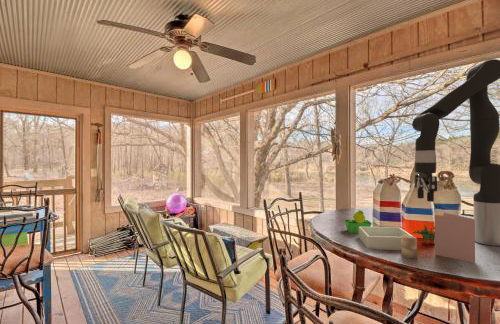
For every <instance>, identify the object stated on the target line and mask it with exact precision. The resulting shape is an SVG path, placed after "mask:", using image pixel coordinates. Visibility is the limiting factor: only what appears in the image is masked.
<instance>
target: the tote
mask: <svg viewBox="0 0 500 324" xmlns="http://www.w3.org/2000/svg"><path fill="white" fill-rule="evenodd" d="M403 235H409V236H413V235H412V234H410V233H409V232H407V231H406V230H405V229H403V228H401V226H397V227H396V226H395V227H393V226H371V227H359V233H358V238H359V239H360V241H361V242H362V243H363V244H364V246H365V247H366V248H367V250H387V251H391V250H392V251H401V236H403Z"/></svg>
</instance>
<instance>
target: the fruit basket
mask: <svg viewBox="0 0 500 324" xmlns="http://www.w3.org/2000/svg"><path fill="white" fill-rule="evenodd" d="M364 213H365V212H364V211H363V210H357V211H356V212H355V213H354V214H353V217H352V219H344V223H345V226H346V229H347V231H348V232H349V233H351V234H354V233H355V234H359V227H372V222H371V221H369V220H367V219H366V216H365V214H364Z"/></svg>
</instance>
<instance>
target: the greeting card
mask: <svg viewBox="0 0 500 324" xmlns="http://www.w3.org/2000/svg"><path fill="white" fill-rule="evenodd" d="M433 218H434V227H435V229H434V231H435V239H434V255H435V256H439V257H444V258H450V259H455V260H460V261H465V262H470V263H476V241H475V219H474V218H471V217H466V216H462V215H457V214H451V213H448V212H443V215H439V214H434V217H433Z"/></svg>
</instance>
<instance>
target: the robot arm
mask: <svg viewBox="0 0 500 324" xmlns="http://www.w3.org/2000/svg"><path fill="white" fill-rule="evenodd" d="M465 79H466V80H465V81H464V82H463V83H462V84H460V85H458V86H457V87H456V88H454V89H452V90H450V91H449V92H447V93H445V95H443V96H442V97H441V98H440V99H439V100H437V101H436V102H434V104H433V105H431V106H430V107H428V108H427V109H425V110H424V111H422V112H420V113H419V114H418V115H416V116H415V117H414V119H413V120H412V122H411V125H412V126H411V127H412V129H413V130H415V131H416V132H420V133H419V136H418V137H417V138H416V139H415V147H414V148H415V153H414V173H415V174H414V188H415V189H416V190H417V193H416V194H417V199H424V198H425V192H424V189H425V190H426V202H432V203H433V202H435V201H434V200H435V197H434V196H435V192H438V177H437V176H436V175H434V176H433V174H436V173H437V153H436V140H437V136H438V133H439V129H440V120H441V119H444V118H446V117H448V116H450V115H451V114H452V112H454V111H455V110H457V109H458V108H459V107H460V106H461V105H462V104H464V103H465V102H466V101H467V100H469V130H470V131H469V132H470V159H469V165H468V166H469V167H468V175H469V178H470V180H471V181H472V182H473V183H475V184H477V185H479V186H480V187H479V191H478V192H476V193H474V194H473V197H472V198H473V219H475V243H478V244H483V245H486V246H495V247H496V246H497V247H500V164H499V163H492V162H491V161H492V160H491V151H492V148H493V146H494V144H495V142H496V140H497V138H498V136H499V133H500V114H499V112H498V110H497V108H496V107H495V105H494V104H493V103H492V101H491V99H490V97H489V92H488V86H489V85H490V84H493V83H495V82H496V81H498V80H500V60H499V59H495V58H493V59H492V58H491V59H488V60H485V61H482V62H480V63H478V64H475V65H473V66H472V67H470V68H469V69H468V71H467V73H466V77H465Z"/></svg>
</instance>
